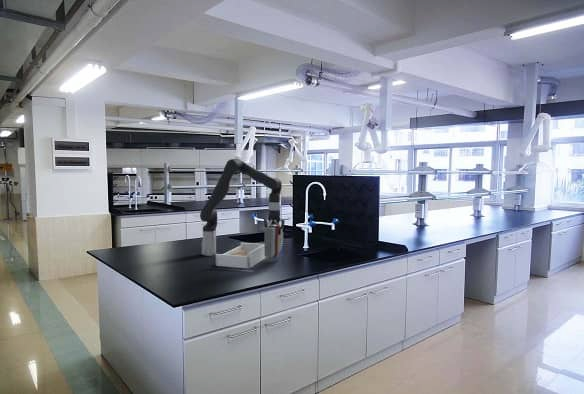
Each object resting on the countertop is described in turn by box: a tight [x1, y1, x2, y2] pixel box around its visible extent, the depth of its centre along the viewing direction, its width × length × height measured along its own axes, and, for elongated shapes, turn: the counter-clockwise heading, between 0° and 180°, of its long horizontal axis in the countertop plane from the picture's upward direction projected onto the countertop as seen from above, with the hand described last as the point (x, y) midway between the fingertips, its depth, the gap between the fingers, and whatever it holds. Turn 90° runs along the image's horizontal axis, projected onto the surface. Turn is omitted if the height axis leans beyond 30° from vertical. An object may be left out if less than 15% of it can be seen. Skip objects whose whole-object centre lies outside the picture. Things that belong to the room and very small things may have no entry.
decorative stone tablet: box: [263, 225, 284, 258], centre depth 240 cm, size 19×6×30 cm
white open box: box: [215, 242, 267, 269], centre depth 246 cm, size 22×40×10 cm, turn 165°
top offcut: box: [230, 250, 250, 256], centre depth 248 cm, size 6×15×2 cm, turn 155°
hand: (274, 234), depth 239 cm, fingers closed on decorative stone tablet, 6 cm apart
